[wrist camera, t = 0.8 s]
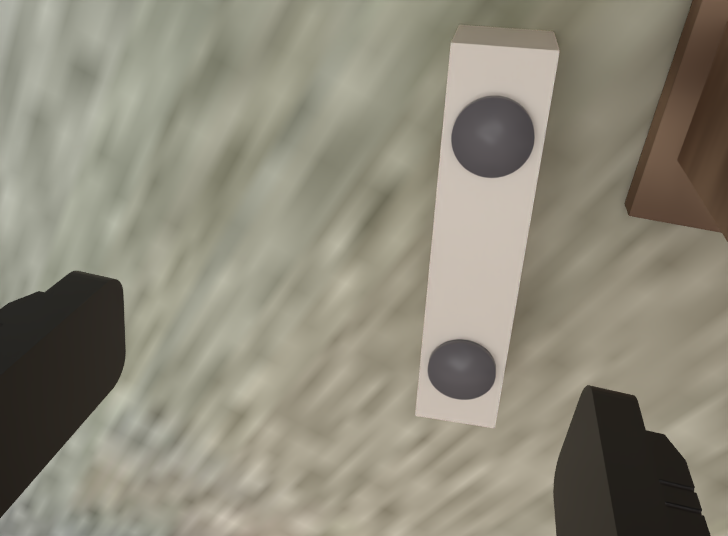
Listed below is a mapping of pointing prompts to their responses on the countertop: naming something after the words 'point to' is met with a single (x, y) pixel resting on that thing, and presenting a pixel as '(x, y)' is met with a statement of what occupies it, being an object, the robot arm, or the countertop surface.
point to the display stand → (689, 131)
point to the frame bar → (482, 215)
